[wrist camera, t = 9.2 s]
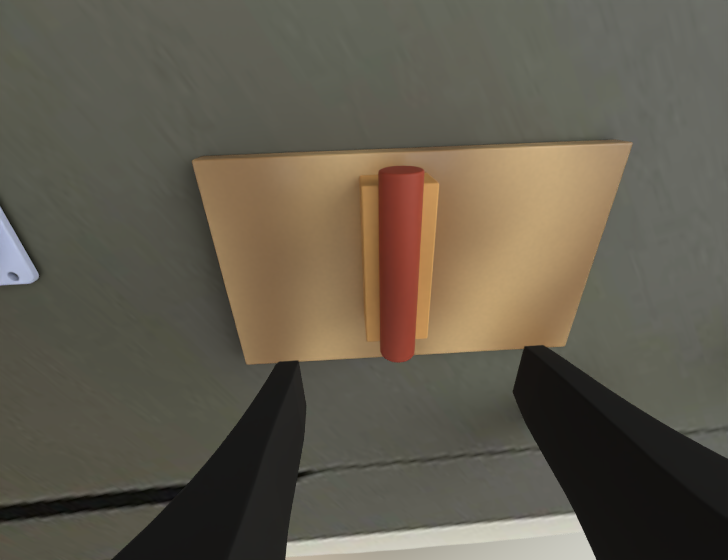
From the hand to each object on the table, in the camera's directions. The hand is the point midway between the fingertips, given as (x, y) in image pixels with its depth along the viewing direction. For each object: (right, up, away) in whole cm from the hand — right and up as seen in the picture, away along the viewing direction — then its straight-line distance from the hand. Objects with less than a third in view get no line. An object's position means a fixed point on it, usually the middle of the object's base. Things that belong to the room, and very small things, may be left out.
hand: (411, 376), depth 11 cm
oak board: (+1, +4, +8) cm, 9 cm away
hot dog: (0, +5, +6) cm, 8 cm away
